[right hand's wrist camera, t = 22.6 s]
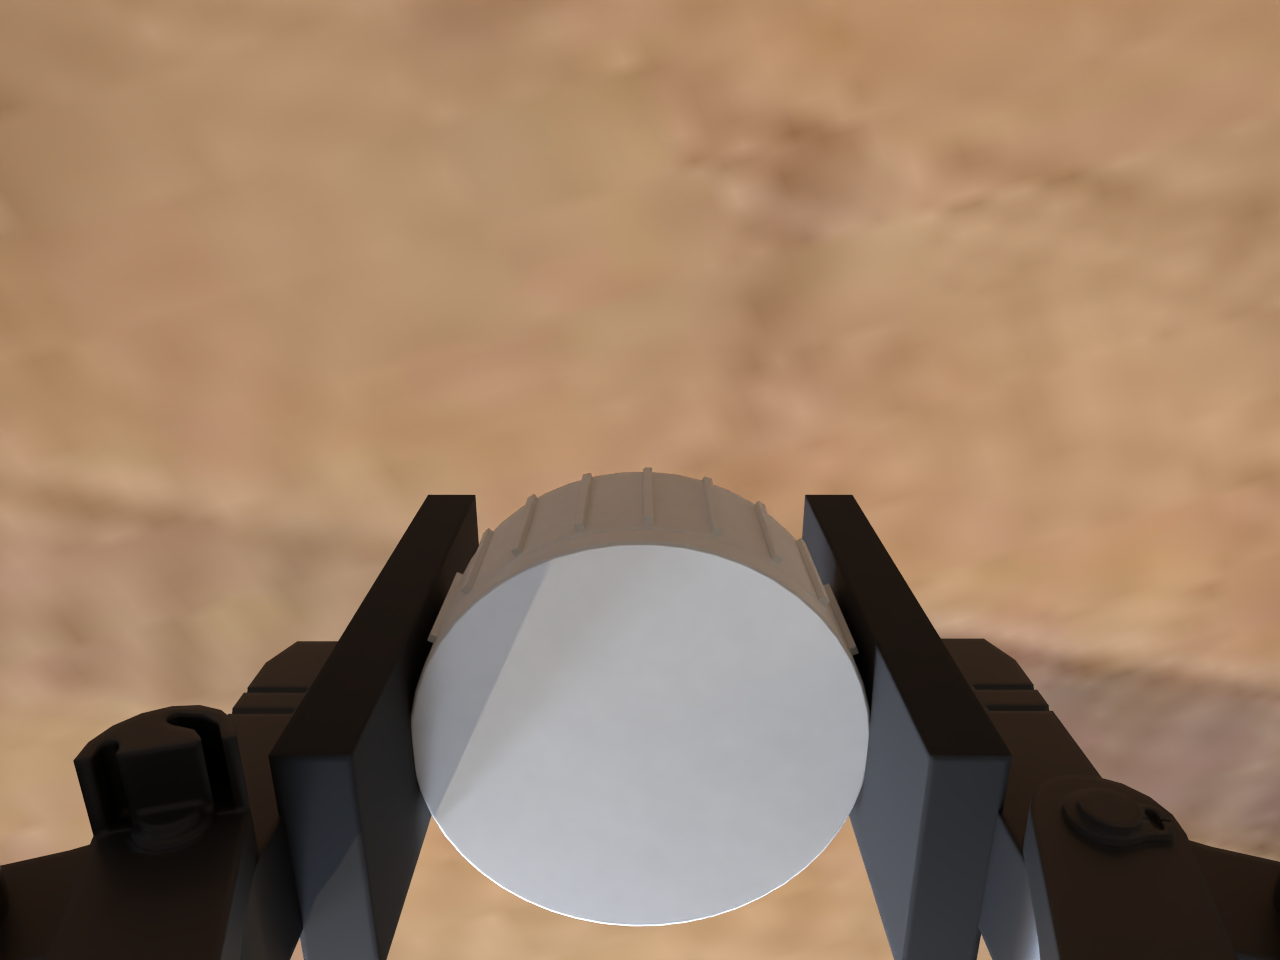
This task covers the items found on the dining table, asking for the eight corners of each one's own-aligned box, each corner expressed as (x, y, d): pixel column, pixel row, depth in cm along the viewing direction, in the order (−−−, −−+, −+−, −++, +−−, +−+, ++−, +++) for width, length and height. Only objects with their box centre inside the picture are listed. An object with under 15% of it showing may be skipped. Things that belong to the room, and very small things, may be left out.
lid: (464, 432, 11) (425, 497, 9) (884, 502, 12) (938, 580, 10) (425, 778, 13) (383, 899, 11) (787, 831, 13) (814, 957, 11)
